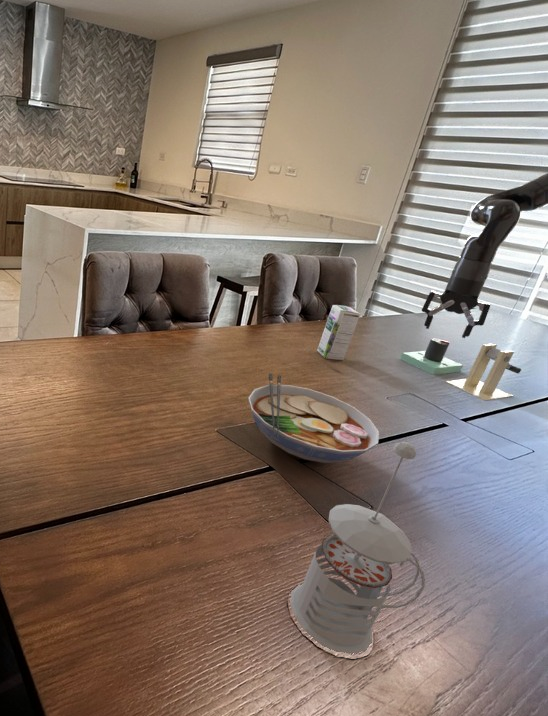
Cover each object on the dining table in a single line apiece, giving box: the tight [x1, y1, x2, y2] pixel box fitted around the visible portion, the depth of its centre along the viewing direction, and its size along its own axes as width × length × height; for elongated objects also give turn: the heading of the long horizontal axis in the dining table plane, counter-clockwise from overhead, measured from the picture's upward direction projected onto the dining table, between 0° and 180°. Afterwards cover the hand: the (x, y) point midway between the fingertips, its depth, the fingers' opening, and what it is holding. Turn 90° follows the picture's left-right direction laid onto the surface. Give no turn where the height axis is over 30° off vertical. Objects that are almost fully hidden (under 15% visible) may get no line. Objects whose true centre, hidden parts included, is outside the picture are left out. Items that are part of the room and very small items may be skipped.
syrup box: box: [316, 304, 361, 361], centre depth 133 cm, size 6×6×14 cm
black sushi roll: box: [424, 337, 451, 362], centre depth 134 cm, size 4×4×6 cm
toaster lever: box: [486, 347, 522, 375], centre depth 122 cm, size 12×5×2 cm, turn 113°
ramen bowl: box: [248, 372, 380, 464], centre depth 88 cm, size 25×23×8 cm
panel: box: [400, 350, 464, 376], centre depth 135 cm, size 12×10×3 cm
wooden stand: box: [444, 343, 515, 402], centre depth 121 cm, size 12×10×13 cm
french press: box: [290, 441, 426, 655], centre depth 51 cm, size 10×12×25 cm
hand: (444, 332), depth 131 cm, fingers open, 8 cm apart
